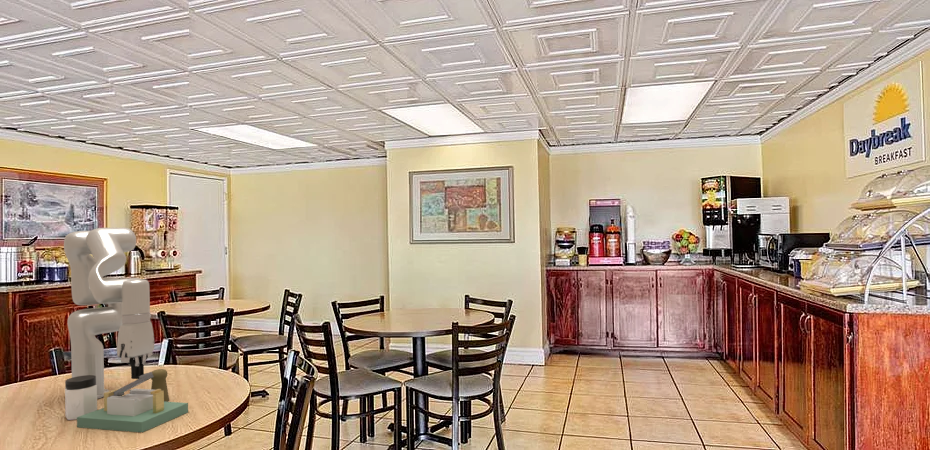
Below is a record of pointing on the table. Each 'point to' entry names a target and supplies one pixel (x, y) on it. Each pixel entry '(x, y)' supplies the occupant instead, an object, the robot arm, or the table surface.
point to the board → (132, 420)
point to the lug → (158, 400)
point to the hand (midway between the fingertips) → (137, 378)
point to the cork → (160, 382)
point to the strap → (134, 383)
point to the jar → (80, 396)
